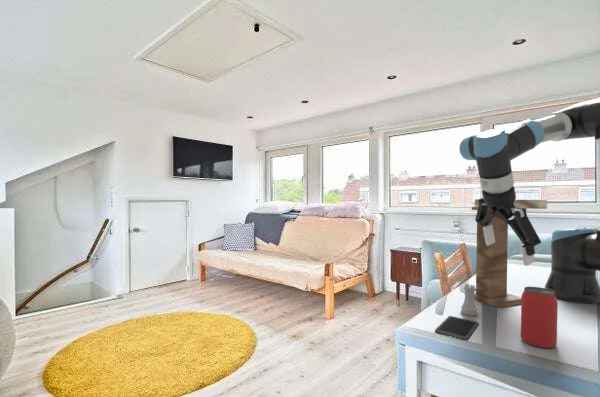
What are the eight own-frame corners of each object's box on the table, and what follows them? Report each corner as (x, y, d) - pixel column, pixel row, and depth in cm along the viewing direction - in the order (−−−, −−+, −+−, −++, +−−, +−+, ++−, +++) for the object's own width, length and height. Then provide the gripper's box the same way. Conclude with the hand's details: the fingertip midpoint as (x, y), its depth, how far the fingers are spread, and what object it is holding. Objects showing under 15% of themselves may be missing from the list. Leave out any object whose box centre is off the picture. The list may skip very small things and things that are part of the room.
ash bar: (546, 208, 93) (547, 200, 93) (538, 208, 92) (538, 199, 92) (482, 206, 111) (482, 199, 111) (474, 206, 110) (474, 199, 110)
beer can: (524, 346, 71) (525, 291, 71) (517, 334, 77) (518, 284, 78) (561, 352, 69) (562, 295, 69) (551, 339, 75) (551, 287, 75)
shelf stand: (524, 303, 102) (526, 207, 102) (499, 307, 97) (501, 207, 97) (494, 294, 111) (495, 207, 111) (470, 298, 106) (471, 206, 106)
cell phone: (433, 334, 78) (433, 330, 78) (449, 318, 89) (449, 315, 89) (467, 343, 73) (467, 339, 73) (479, 325, 84) (479, 322, 84)
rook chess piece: (471, 317, 89) (472, 288, 89) (457, 312, 93) (457, 284, 93) (481, 315, 91) (482, 286, 91) (467, 310, 95) (467, 282, 95)
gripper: (454, 183, 99) (467, 241, 105) (525, 206, 75) (536, 279, 82) (476, 173, 99) (487, 232, 106) (553, 193, 76) (561, 267, 83)
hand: (508, 252), depth 94 cm, fingers open, 13 cm apart
